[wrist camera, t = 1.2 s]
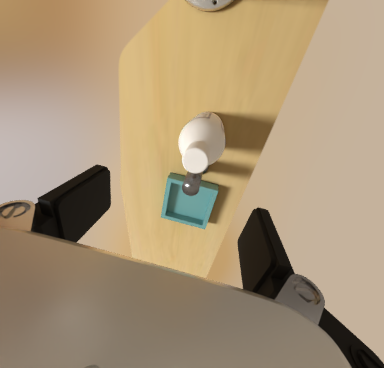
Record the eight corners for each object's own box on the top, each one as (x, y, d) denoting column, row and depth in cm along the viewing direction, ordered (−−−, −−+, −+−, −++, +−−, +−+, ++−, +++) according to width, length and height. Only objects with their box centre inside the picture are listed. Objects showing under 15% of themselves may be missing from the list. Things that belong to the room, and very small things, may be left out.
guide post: (200, 149, 38) (193, 169, 27) (213, 166, 39) (210, 192, 29) (183, 160, 39) (170, 184, 29) (195, 177, 41) (187, 205, 30)
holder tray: (170, 172, 41) (167, 177, 39) (218, 184, 41) (218, 191, 38) (164, 210, 47) (160, 217, 44) (205, 221, 47) (205, 229, 44)
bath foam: (184, 133, 36) (152, 167, 19) (203, 103, 33) (186, 112, 16) (209, 151, 38) (202, 200, 20) (230, 125, 34) (242, 155, 17)
